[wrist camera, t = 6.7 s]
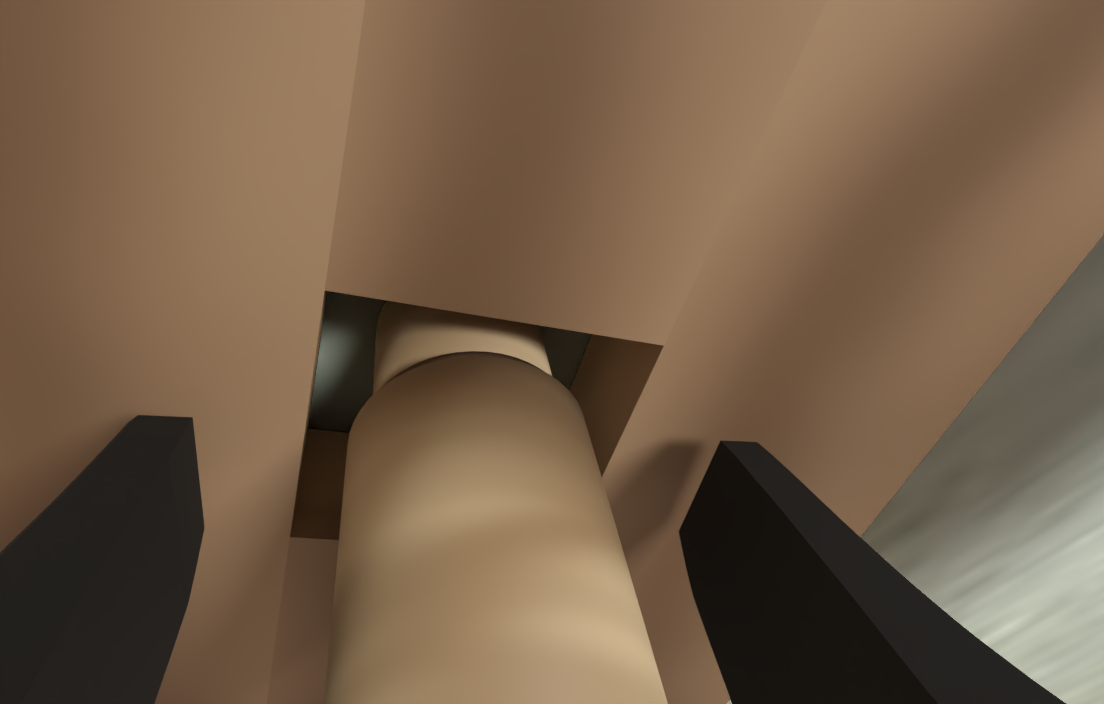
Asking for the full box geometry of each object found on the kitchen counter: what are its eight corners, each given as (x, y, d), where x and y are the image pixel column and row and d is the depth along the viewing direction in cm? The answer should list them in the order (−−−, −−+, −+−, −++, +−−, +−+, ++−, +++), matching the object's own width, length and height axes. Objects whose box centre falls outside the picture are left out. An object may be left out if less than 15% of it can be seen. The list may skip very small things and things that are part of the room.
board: (1101, -1, 11) (1258, 40, 9) (683, 625, 19) (715, 717, 17) (-289, -571, 6) (-643, -769, 4) (-16, 603, 14) (-83, 727, 12)
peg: (574, 262, 12) (765, 774, 6) (533, 414, 14) (639, 920, 8) (365, 237, 11) (311, 814, 5) (352, 403, 13) (301, 968, 7)
